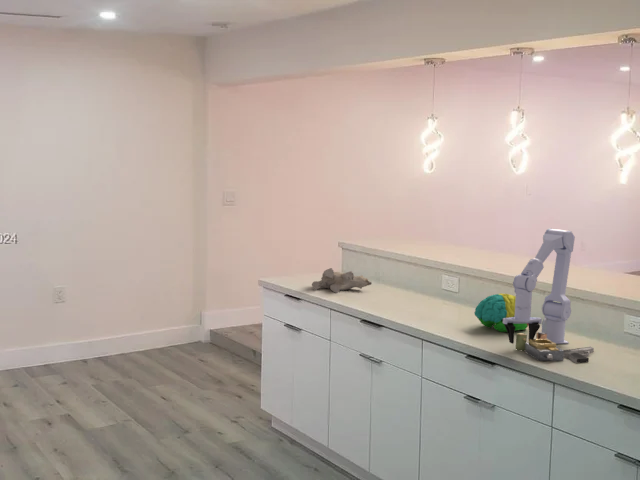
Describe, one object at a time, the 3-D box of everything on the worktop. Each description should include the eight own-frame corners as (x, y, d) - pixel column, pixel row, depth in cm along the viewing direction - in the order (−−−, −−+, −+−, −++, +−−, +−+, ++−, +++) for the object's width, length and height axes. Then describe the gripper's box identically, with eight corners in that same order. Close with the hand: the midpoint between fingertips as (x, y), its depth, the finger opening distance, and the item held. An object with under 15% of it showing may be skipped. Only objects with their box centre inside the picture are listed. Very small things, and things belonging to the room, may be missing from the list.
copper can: (533, 346, 282) (534, 331, 281) (543, 346, 282) (544, 331, 281) (538, 349, 278) (539, 334, 277) (547, 349, 278) (548, 334, 278)
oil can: (513, 348, 279) (514, 332, 278) (523, 347, 280) (524, 332, 279) (519, 352, 274) (520, 336, 273) (529, 351, 274) (530, 336, 274)
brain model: (492, 335, 296) (496, 298, 295) (464, 325, 313) (467, 290, 312) (538, 333, 306) (542, 297, 305) (508, 323, 323) (511, 289, 322)
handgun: (613, 359, 268) (589, 351, 279) (614, 354, 268) (589, 346, 278) (577, 365, 261) (553, 356, 271) (577, 359, 260) (553, 350, 271)
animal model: (351, 259, 374) (367, 258, 389) (307, 275, 388) (324, 273, 402) (359, 287, 372) (375, 284, 387) (314, 302, 386) (331, 298, 401)
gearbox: (524, 351, 274) (525, 338, 274) (547, 351, 276) (548, 338, 275) (542, 362, 260) (543, 349, 259) (566, 362, 262) (567, 348, 261)
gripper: (509, 309, 271) (507, 345, 272) (546, 308, 273) (544, 344, 274) (501, 305, 277) (499, 340, 279) (537, 304, 280) (535, 340, 281)
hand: (521, 342), depth 277 cm, fingers open, 7 cm apart
